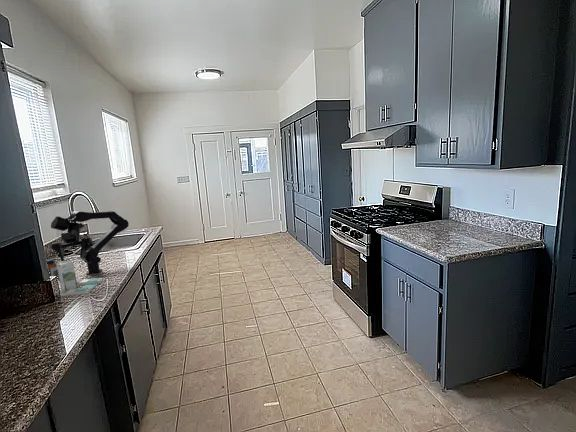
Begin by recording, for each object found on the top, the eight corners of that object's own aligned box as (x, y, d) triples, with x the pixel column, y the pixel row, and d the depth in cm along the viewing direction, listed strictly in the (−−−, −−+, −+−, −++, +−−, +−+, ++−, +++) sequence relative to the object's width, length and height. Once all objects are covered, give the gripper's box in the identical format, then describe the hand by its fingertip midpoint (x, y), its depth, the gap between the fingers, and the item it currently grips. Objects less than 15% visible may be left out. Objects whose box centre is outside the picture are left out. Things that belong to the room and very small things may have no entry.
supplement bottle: (43, 280, 185) (39, 261, 183) (54, 276, 190) (50, 257, 188) (51, 281, 183) (47, 262, 181) (61, 277, 188) (57, 258, 186)
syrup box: (74, 286, 174) (68, 259, 171) (78, 288, 170) (73, 261, 167) (61, 290, 170) (55, 262, 167) (65, 292, 166) (60, 264, 163)
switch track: (69, 283, 178) (68, 280, 177) (102, 280, 179) (102, 277, 179) (50, 297, 161) (50, 293, 161) (87, 293, 163) (87, 290, 162)
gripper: (46, 229, 173) (43, 256, 166) (85, 222, 176) (84, 249, 169) (57, 238, 183) (55, 264, 175) (94, 232, 186) (93, 257, 179)
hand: (71, 259), depth 174 cm, fingers open, 9 cm apart
